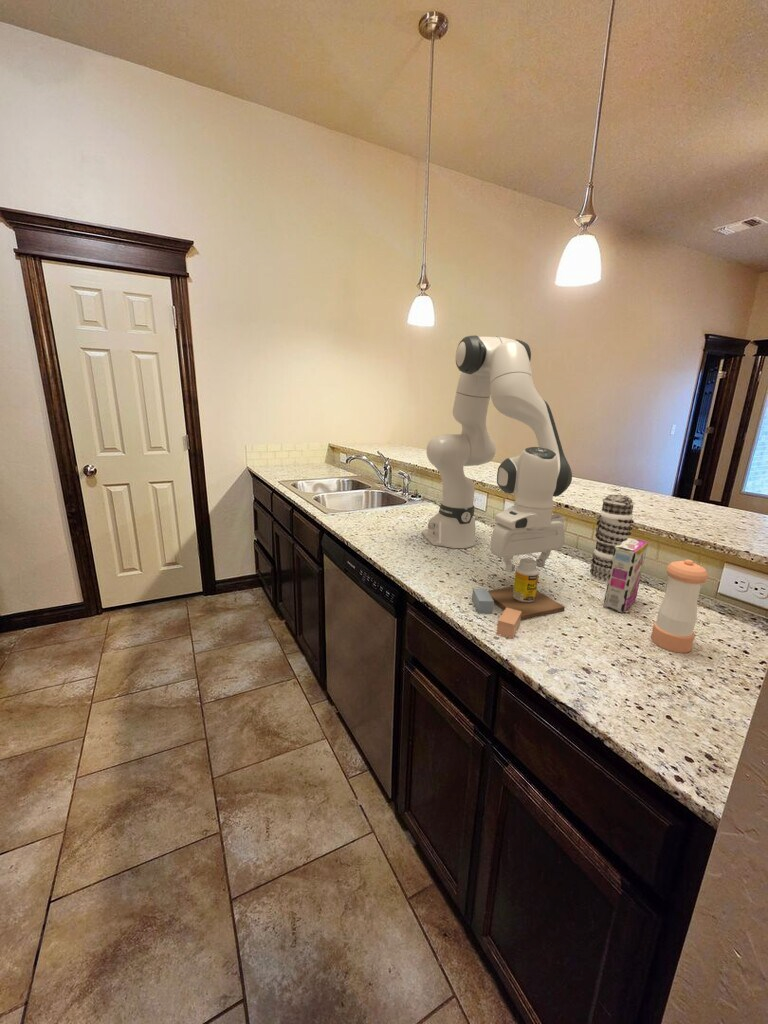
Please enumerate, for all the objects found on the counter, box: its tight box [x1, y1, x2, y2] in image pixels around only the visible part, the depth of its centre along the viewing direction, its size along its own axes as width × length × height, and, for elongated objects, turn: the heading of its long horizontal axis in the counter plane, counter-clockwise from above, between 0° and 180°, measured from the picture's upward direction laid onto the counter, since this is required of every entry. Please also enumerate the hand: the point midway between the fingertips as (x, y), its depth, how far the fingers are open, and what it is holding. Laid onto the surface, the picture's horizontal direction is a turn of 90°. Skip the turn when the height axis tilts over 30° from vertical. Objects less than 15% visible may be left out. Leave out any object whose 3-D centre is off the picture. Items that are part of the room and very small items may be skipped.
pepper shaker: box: [650, 559, 709, 654], centre depth 86 cm, size 7×7×19 cm
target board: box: [488, 585, 566, 621], centre depth 105 cm, size 14×14×1 cm
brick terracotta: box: [496, 607, 522, 639], centre depth 93 cm, size 7×4×4 cm, turn 149°
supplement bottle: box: [513, 557, 540, 602], centre depth 104 cm, size 6×6×10 cm
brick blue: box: [471, 587, 494, 615], centre depth 103 cm, size 7×4×4 cm, turn 0°
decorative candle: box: [588, 494, 636, 585], centre depth 118 cm, size 9×9×25 cm
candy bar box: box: [602, 537, 649, 614], centre depth 104 cm, size 11×5×16 cm, turn 135°
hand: (525, 568), depth 103 cm, fingers open, 8 cm apart
